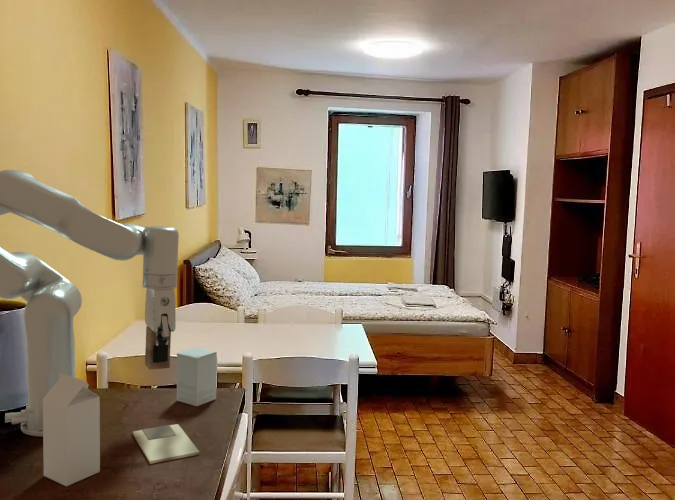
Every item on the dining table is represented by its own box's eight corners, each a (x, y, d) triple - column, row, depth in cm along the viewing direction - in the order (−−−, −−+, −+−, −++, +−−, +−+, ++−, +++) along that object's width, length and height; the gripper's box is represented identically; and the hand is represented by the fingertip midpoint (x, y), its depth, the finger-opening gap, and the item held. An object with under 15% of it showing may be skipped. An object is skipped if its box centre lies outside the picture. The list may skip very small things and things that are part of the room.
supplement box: (217, 399, 157) (218, 351, 156) (196, 407, 151) (196, 357, 149) (196, 393, 161) (197, 346, 159) (175, 400, 155) (176, 352, 153)
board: (150, 464, 120) (150, 460, 119) (132, 434, 133) (132, 431, 133) (199, 454, 125) (199, 451, 125) (177, 426, 138) (177, 423, 138)
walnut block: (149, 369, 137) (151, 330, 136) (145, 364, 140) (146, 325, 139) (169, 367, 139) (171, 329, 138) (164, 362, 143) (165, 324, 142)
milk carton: (66, 487, 109) (65, 385, 107) (43, 476, 113) (42, 377, 111) (100, 472, 115) (100, 376, 113) (77, 462, 119) (76, 368, 117)
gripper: (187, 286, 132) (183, 367, 134) (166, 274, 147) (164, 348, 149) (152, 287, 128) (149, 370, 130) (134, 275, 143) (132, 350, 145)
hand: (157, 357), depth 139 cm, fingers closed on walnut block, 4 cm apart
